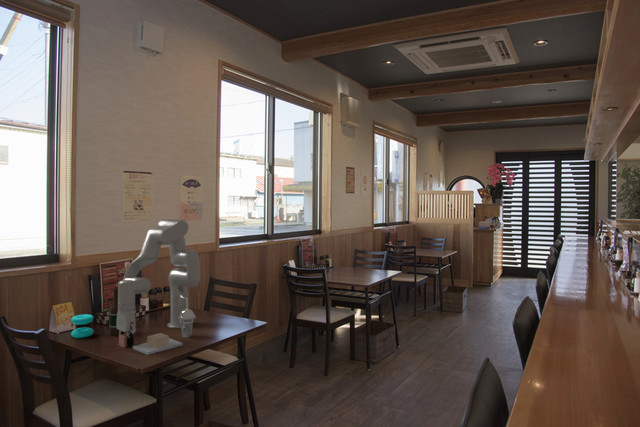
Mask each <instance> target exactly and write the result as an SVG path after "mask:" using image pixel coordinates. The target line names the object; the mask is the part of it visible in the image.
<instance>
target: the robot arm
mask: <svg viewBox="0 0 640 427" xmlns="http://www.w3.org/2000/svg"><path fill="white" fill-rule="evenodd" d="M188 231H189V223H188V222H187V221H186V220H184V219H174V218H172V219H171V218H166V219H161V220H159V221H158V222H157V227H153V228H150V229H149V230H147V233H146V235H145V238H144V240H143V243H142V247H141V249H140V252H139V254H138V256H137V257H136V258H135V259H134V260H133V261H132V262H131V263H130V264H129V265H128V266H127V267H126V270H125V273H124V275H123V279H122V280H120V281H119V282H118V283H117V287H118V312H117V323H116V328H117V329H118V330H119V335H121V334H125V333H127V336H128V338H127V346H128V347H131V345H132V346H135V335H136V333H137V329H136V327H137V325H136V323H137V321H136V311H135V309H136V295H139V294H141V295H143V294H146V293H148V292H149V291H150V290H151V289H152V282H151V280H150V279H148V278H145V277H137V276H138V274H139V272H140V271H141V270H142V269H143V268H145V267H146V266H148V265H150V264H153V263H155V262H156V261H157V260H158V257H159V254H160V251H161V247H162V246H168V247H169V248H168V249H169V259H170V263H171V264H172V266H175V267H177V268H173V269H171V270H170V271H169V274H168V283H169V292H170V322H168V323H167V325H166V326H167V327H168V328H170V329H181V323H180V319H179V318H178V316H179V315H180V313H181V312H182V311H183V310H184V309H186V299H183V298H181V297H180V296H182V297H185V298H187V299H188V304H189V298H190V296H189V289H188V288H190V287H191V288H194V287H197V286H198V285H199V284H200V280H201V264H200V262H201V261H200V256H199V254H198V252H197V251H196V250H194V249H189V248H187V246H186V245H187V244H186V239H185V235H186V234H187V233H188ZM180 267H182V268H180ZM196 319H197V317H196V315H195V318H194V320H196ZM129 333H130V334H129Z"/></svg>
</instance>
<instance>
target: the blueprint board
mask: <svg viewBox="0 0 640 427" xmlns="http://www.w3.org/2000/svg"><path fill="white" fill-rule="evenodd" d="M183 345H184V343H183V342H181V341H180V340H176V339H173V338H170V335H168V334H165V333H162V332H160V333H156V334H151V335H147V336H146V342H144V343H141V344H135V345H132V350H134V351H137V352H140V353H142V354H144V355H147V356H149V355H152V354H156V352H157V353H161V352H164V351H167V350H168V351H169V350H170V349H175V348H178V346H179V347H183Z"/></svg>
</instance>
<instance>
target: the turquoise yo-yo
mask: <svg viewBox="0 0 640 427" xmlns="http://www.w3.org/2000/svg"><path fill="white" fill-rule="evenodd" d="M94 317H95V316H93V315H92V314H88V313H86V314H85V313H84V314H78V315H75V316H72V318H71V323H72V324H74V325H78V326H79V325H87V324H90V323H92V322H93V321H94ZM94 332H95V331H94V329H93V328H92V327H87V326H83V327H78V328H75V329H74V330H72V332H71V336H72V338H75V339H83V338H88V337H91V336H93V334H94Z"/></svg>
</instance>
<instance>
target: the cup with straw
mask: <svg viewBox="0 0 640 427" xmlns="http://www.w3.org/2000/svg"><path fill="white" fill-rule="evenodd" d="M180 297H181V298H183V299H186V309H184V310H183V311H182V312H181V313H180V315H179V316H178V318H179V319H180V323H181V328H180V330H181V335H182V336H181V337H182V338H184V339H185V338H186V339H187V338H190V337H192V333H193V325H194V321H195V319H194V318H195V316H196V314H195V313H194V312H193V310H191V309H190V308H189V303H188V299H187V298H185V297H182V296H180Z"/></svg>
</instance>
